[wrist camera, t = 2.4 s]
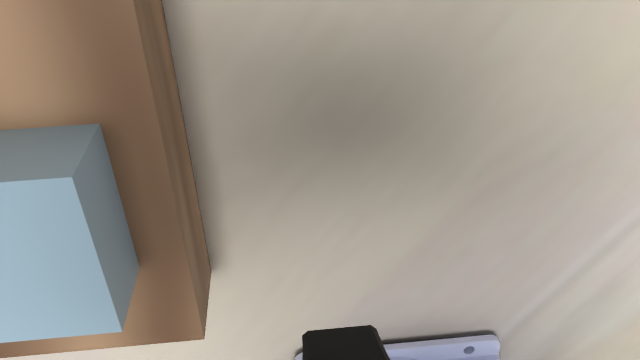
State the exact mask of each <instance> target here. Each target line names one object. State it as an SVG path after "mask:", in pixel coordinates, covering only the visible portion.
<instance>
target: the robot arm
mask: <svg viewBox="0 0 640 360" xmlns="http://www.w3.org/2000/svg"><path fill="white" fill-rule="evenodd" d="M302 340H303V353H300V354H298V355H297V356H296V357H295V358H294V360H500V357H499V351H500V347H501V345H500V342H499V339H498V338H497V337H496V336H494V335H480V336H470V337H459V338H449V339H438V340H428V341H417V342H407V343H396V344H386V345H383V344H382V341H381V339H380V337H379V335H378V332H377V330H376V328H374V327H373V326H371V325H367V326H356V327H345V328H335V329H324V330H313V331H307V332H306V333H305V334H304V335H303V336H302Z"/></svg>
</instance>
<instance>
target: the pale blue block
mask: <svg viewBox="0 0 640 360" xmlns="http://www.w3.org/2000/svg"><path fill="white" fill-rule="evenodd" d="M138 271H139V264H138V260H137V256H136V253H135V249H134V246H133V242H132V238H131V235H130V231H129V227H128V224H127V220H126V217H125V213H124V209H123V206H122V202H121V198H120V195H119V191H118V188H117V184H116V180H115V177H114V173H113V169H112V166H111V162H110V159H109V155H108V151H107V148H106V144H105V140H104V137H103V133H102V130H101V126H100V124H85V125H70V126H55V127H40V128H25V129H10V130H0V343H6V342H17V341H28V340H39V339H50V338H61V337H72V336H83V335H94V334H105V333H116V332H122V331H123V328H124V324H125V320H126V316H127V312H128V309H129V305H130V301H131V297H132V294H133V290H134V286H135V282H136V278H137V275H138Z"/></svg>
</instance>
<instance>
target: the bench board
mask: <svg viewBox="0 0 640 360" xmlns="http://www.w3.org/2000/svg"><path fill="white" fill-rule="evenodd" d="M85 124H100V126H101V130H102V133H103V137H104V140H105V144H106V148H107V151H108V155H109V159H110V162H111V166H112V169H113V173H114V177H115V180H116V184H117V188H118V191H119V195H120V198H121V202H122V206H123V209H124V213H125V217H126V220H127V224H128V227H129V231H130V235H131V238H132V242H133V246H134V249H135V253H136V256H137V260H138V264H139V271H138V275H137V278H136V282H135V286H134V290H133V294H132V297H131V301H130V305H129V309H128V312H127V316H126V320H125V324H124V328H123V331H122V332H116V333H105V334H94V335H83V336H72V337H61V338H50V339H39V340H28V341H17V342H6V343H0V358H7V357H18V356H28V355H39V354H50V353H61V352H71V351H82V350H93V349H104V348H114V347H125V346H136V345H147V344H157V343H168V342H179V341H190V340H201V339H204V337H205V327H206V317H207V307H208V298H209V288H210V278H211V269H210V264H209V258H208V253H207V247H206V242H205V236H204V231H203V225H202V220H201V214H200V209H199V203H198V198H197V192H196V187H195V181H194V176H193V170H192V165H191V159H190V154H189V148H188V143H187V137H186V132H185V126H184V121H183V115H182V110H181V104H180V99H179V93H178V88H177V82H176V77H175V71H174V66H173V61H172V55H171V50H170V44H169V39H168V33H167V28H166V22H165V17H164V11H163V6H162V0H0V130H10V129H25V128H40V127H55V126H70V125H85Z"/></svg>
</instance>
